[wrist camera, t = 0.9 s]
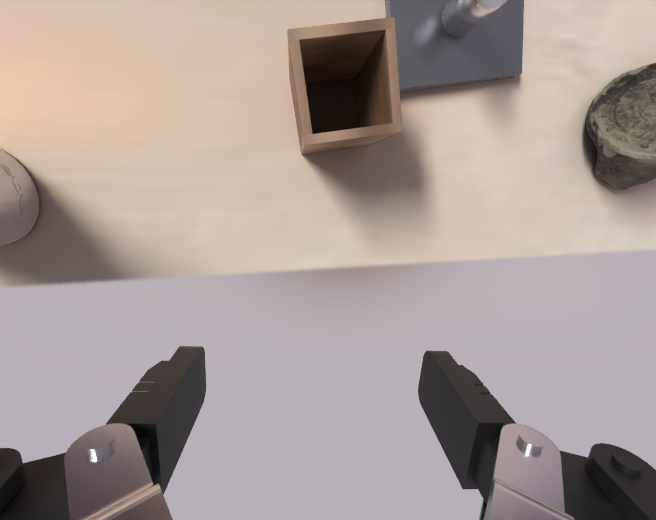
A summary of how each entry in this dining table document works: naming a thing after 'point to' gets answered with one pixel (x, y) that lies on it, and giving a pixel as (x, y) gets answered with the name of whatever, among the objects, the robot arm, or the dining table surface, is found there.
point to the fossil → (625, 128)
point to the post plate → (456, 41)
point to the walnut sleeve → (345, 62)
